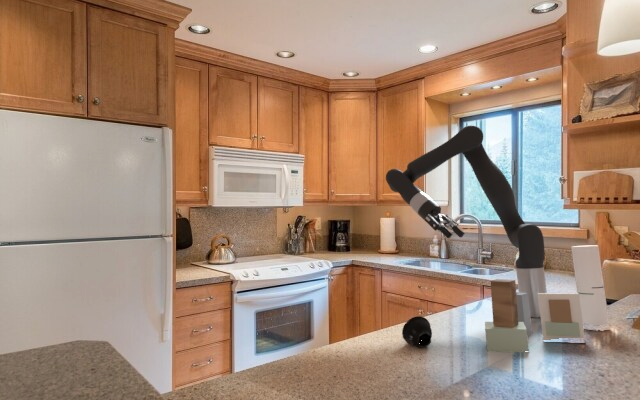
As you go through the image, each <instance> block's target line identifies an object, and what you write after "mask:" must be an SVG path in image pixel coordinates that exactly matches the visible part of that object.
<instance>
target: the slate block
mask: <svg viewBox="0 0 640 400" xmlns="http://www.w3.org/2000/svg"><path fill="white" fill-rule="evenodd" d="M516 296H517V310H518V322H524V325H525V327H526V329H527V337H528V336H529V335H531V334H533V328H532V327H533V326H532V319H531V318H532V317H530V308H529V300H528V293H519V291H518V292H517V291H516Z"/></svg>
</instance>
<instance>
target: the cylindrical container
mask: <svg viewBox="0 0 640 400" xmlns="http://www.w3.org/2000/svg"><path fill="white" fill-rule="evenodd" d="M570 248H571V256H572V262H573V263H572V264H573V270H574V278H575V280H574V281H575V286H576V287H575V288H576V293H579V297H580V305H581V312H582V320H583V323H586V324H592V325H603V324H608V323H609V313H608V304H607V299H606V291H605V283H604V277H603V269H602V261H601V254H600V249H599V245H598V244H597V245H596V244H595V245H594V244H593V245H591V244H589V245H587V244H586V245H576V246H575V245H572V246H570ZM609 324H610V323H609Z"/></svg>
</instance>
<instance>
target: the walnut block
mask: <svg viewBox="0 0 640 400" xmlns="http://www.w3.org/2000/svg"><path fill="white" fill-rule="evenodd" d="M516 285H517V283H516V279H502V278H496V279H492V280H490V294H491V309H492V322H493V325H494V326H501V327H510V328H513V327H515V326H517V325H518V310H517V296H516V292H517V286H516Z"/></svg>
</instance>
